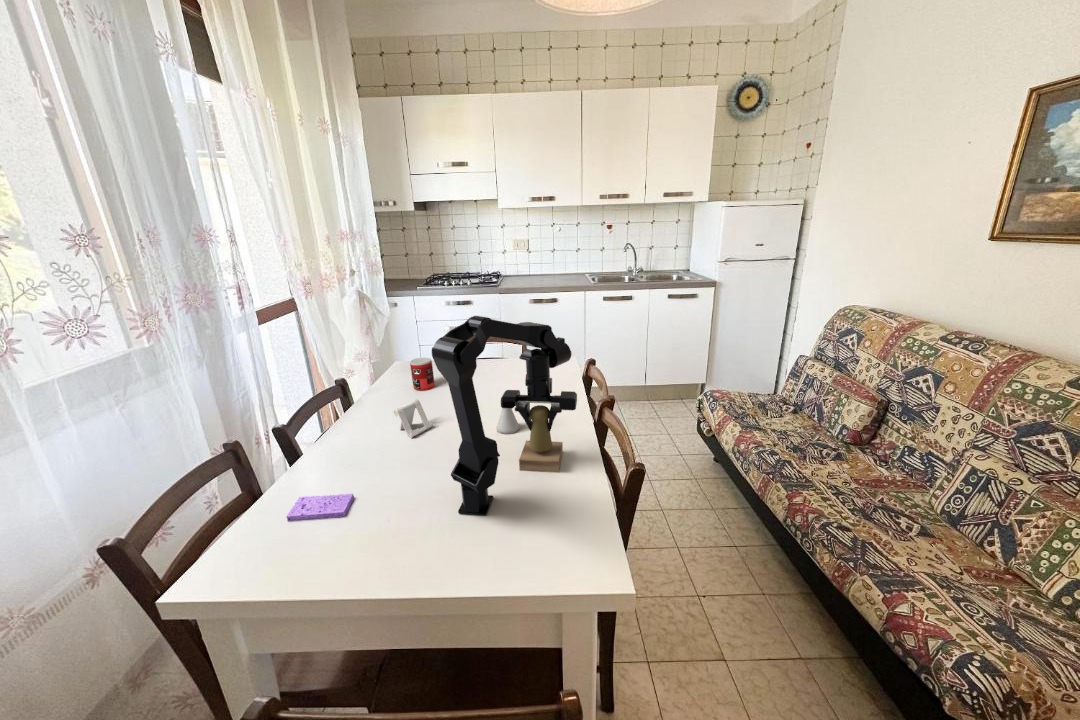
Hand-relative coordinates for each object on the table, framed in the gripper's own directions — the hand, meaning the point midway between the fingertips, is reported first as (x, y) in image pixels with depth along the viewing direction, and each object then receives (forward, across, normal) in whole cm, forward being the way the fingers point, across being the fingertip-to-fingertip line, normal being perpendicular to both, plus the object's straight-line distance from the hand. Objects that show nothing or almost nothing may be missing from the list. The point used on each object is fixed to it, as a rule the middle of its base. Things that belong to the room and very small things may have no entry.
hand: (540, 430), depth 112 cm
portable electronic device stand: (+9, +42, -14) cm, 45 cm away
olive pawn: (+5, 0, 0) cm, 5 cm away
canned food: (+9, +53, -48) cm, 72 cm away
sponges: (+10, +47, +24) cm, 54 cm away
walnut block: (+9, 0, 0) cm, 9 cm away
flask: (+9, +13, -17) cm, 23 cm away
